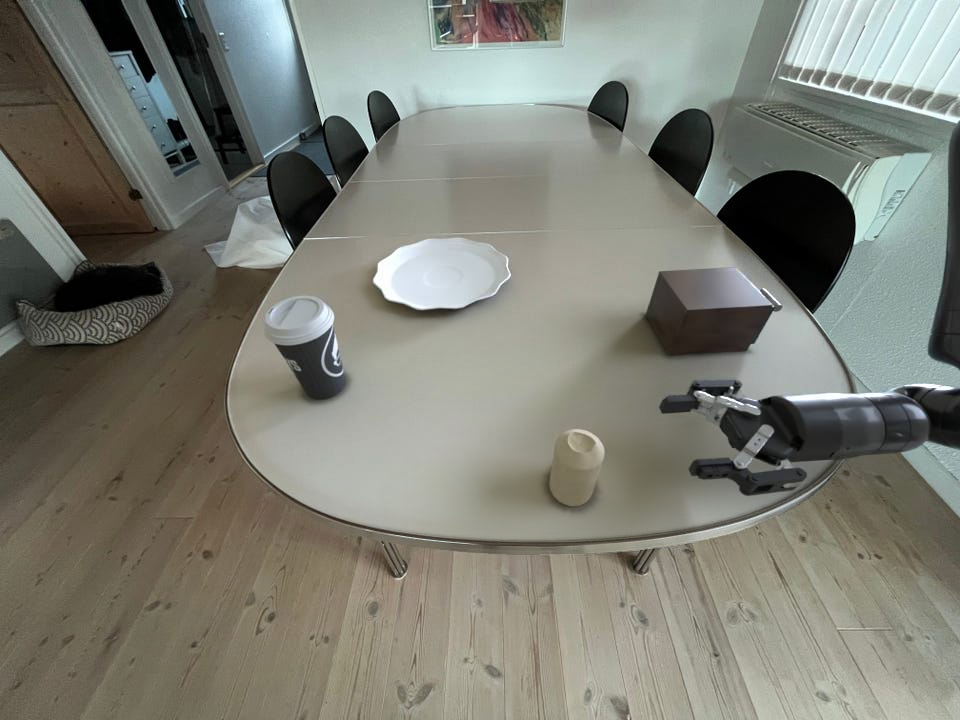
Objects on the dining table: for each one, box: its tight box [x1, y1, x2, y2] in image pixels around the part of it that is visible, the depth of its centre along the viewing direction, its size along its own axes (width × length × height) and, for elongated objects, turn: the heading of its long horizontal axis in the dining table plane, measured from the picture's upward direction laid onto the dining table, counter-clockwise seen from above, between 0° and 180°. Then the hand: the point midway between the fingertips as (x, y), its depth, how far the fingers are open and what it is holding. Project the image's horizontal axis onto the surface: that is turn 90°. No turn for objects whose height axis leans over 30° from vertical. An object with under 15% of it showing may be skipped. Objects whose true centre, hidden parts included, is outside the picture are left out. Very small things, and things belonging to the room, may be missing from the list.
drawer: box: [740, 272, 783, 345], centre depth 71 cm, size 16×10×8 cm, turn 93°
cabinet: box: [645, 266, 773, 356], centre depth 71 cm, size 14×12×10 cm
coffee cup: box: [263, 295, 347, 401], centre depth 62 cm, size 10×10×15 cm
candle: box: [549, 428, 605, 507], centre depth 49 cm, size 6×6×10 cm
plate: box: [372, 237, 511, 312], centre depth 89 cm, size 29×29×2 cm
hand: (675, 435), depth 46 cm, fingers open, 8 cm apart
